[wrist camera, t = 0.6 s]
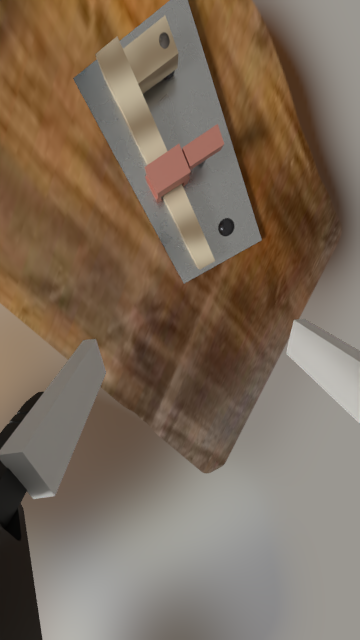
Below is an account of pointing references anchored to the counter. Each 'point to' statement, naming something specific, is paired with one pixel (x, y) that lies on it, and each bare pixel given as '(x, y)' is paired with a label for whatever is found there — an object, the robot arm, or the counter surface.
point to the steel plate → (180, 128)
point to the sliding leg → (181, 162)
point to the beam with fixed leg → (127, 89)
